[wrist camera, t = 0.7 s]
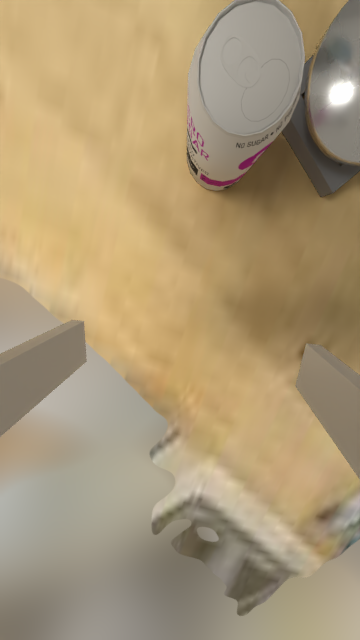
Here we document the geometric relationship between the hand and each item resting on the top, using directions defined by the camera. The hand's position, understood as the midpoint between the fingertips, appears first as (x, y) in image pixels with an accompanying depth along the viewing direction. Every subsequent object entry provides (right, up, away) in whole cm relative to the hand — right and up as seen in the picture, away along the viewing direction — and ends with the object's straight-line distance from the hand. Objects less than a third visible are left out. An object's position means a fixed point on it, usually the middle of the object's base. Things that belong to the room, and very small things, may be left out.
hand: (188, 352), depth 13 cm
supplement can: (+5, +23, +16) cm, 28 cm away
